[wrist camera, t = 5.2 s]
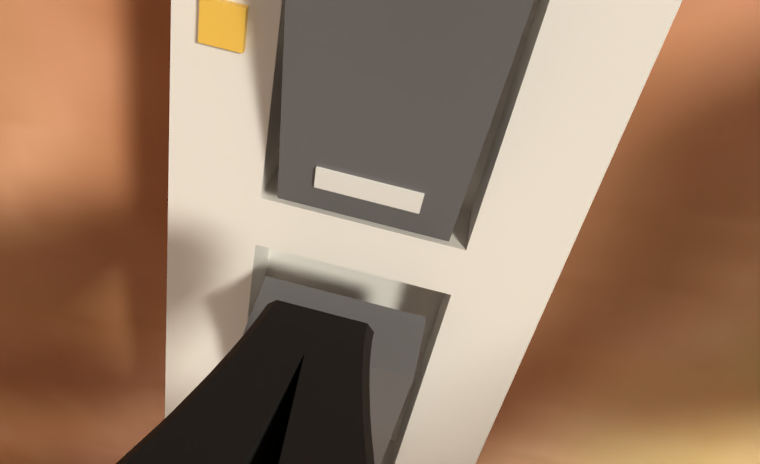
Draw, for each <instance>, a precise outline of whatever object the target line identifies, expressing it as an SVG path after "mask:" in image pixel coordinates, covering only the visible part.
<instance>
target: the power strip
mask: <svg viewBox="0 0 760 464" xmlns="http://www.w3.org/2000/svg"><path fill="white" fill-rule="evenodd" d="M681 2H682V0H534V3H533V6H532V9H531V11H530V14H529V17H528V20H527V23H526V26H525V28H524V31H523V34H522V37H521V40H520V43H519V45H518V48H517V51H516V54H515V57H514V60H513V62H512V65H511V68H510V71H509V74H508V76H507V79H506V82H505V85H504V88H503V91H502V93H501V96H500V99H499V102H498V105H497V108H496V110H495V113H494V116H493V119H492V122H491V124H490V127H489V130H488V133H487V136H486V139H485V141H484V144H483V147H482V150H481V153H480V156H479V158H478V161H477V164H476V167H475V170H474V172H473V175H472V178H471V181H470V184H469V187H468V189H467V192H466V195H465V198H464V201H463V204H462V206H461V209H460V212H459V215H458V218H457V221H456V223H455V226H454V229H453V232H452V235H451V237H450V240H449V242H448V241H445V240H441V239H437V238H433V237H429V236H425V235H421V234H417V233H413V232H409V231H405V230H401V229H398V228H394V227H390V226H386V225H382V224H378V223H374V222H370V221H366V220H362V219H358V218H354V217H351V216H347V215H343V214H339V213H335V212H331V211H327V210H323V209H319V208H315V207H311V206H307V205H304V204H300V203H296V202H292V201H288V200H284V199H280V198H277V197H278V172H279V147H280V123H281V98H282V74H283V49H284V24H285V0H171V40H170V107H169V174H168V241H167V309H166V376H165V418H166V417H167V416H168V415H169V414H170V413H171V412H172V411H173V410H174V409H175V408H176V407H177V406H178V405H179V404H180V403H181V402H182V401H183V400H184V399H185V398H186V397H187V396H188V395H189V394H190V393H191V392H192V391H193V390H194V389H195V388H196V387H197V386H198V385H199V384H200V383H201V382H202V381H203V380H204V379H205V378H206V376H207V375H208V374H209V373H210V372H211V371H212V370H213V369H214V368H215V367H216V366H217V365H218V364H219V362H220V361H221V360H222V359H223V358H224V357H225V356H226V355H227V354H228V352H229V351H230V350H231V349H232V348H233V347H234V346H235V344H236V343H237V342H238V341H239V340H240V339H241V337H242V336H243V333H244V330H245V328H246V325H247V323H248V320H249V317H250V315H251V312H252V310H253V307H254V304H255V302H256V299H257V297H258V294H259V292H260V289H261V286H262V284H263V281H264V279H265V276H268V277H272V278H276V279H280V280H284V281H288V282H291V283H295V284H299V285H303V286H307V287H311V288H315V289H319V290H323V291H326V292H330V293H334V294H338V295H342V296H346V297H350V298H354V299H357V300H361V301H365V302H369V303H373V304H377V305H381V306H385V307H388V308H392V309H396V310H400V311H404V312H408V313H412V314H416V315H419V316H423V317H426V321H425V326H424V331H423V336H422V341H421V346H420V351H419V356H418V361H417V365H416V370H415V375H414V379H413V382H412V384H411V387H410V389H409V392H408V395H407V397H406V400H405V402H404V405H403V408H402V410H401V413H400V415H399V418H398V420H397V423H396V426H395V428H394V431H393V433H392V436H391V439H390V441H389V444H388V446H387V449H386V452H385V454H384V457H383V459H382V462H381V464H476V461H477V459H478V457H479V455H480V452H481V450H482V448H483V446H484V444H485V441H486V439H487V437H488V435H489V432H490V430H491V428H492V426H493V423H494V421H495V419H496V417H497V414H498V412H499V410H500V408H501V405H502V403H503V401H504V399H505V396H506V394H507V392H508V390H509V388H510V385H511V383H512V381H513V379H514V376H515V374H516V372H517V370H518V367H519V365H520V363H521V361H522V358H523V356H524V354H525V352H526V349H527V347H528V345H529V343H530V340H531V338H532V336H533V334H534V332H535V329H536V327H537V325H538V323H539V320H540V318H541V316H542V314H543V311H544V309H545V307H546V305H547V302H548V300H549V298H550V296H551V293H552V291H553V289H554V287H555V284H556V282H557V280H558V278H559V276H560V273H561V271H562V269H563V267H564V264H565V262H566V260H567V258H568V255H569V253H570V251H571V249H572V246H573V244H574V242H575V240H576V237H577V235H578V233H579V231H580V228H581V226H582V224H583V222H584V220H585V217H586V215H587V213H588V211H589V208H590V206H591V204H592V202H593V199H594V197H595V195H596V193H597V190H598V188H599V186H600V184H601V181H602V179H603V177H604V175H605V172H606V170H607V168H608V166H609V164H610V161H611V159H612V157H613V155H614V152H615V150H616V148H617V146H618V143H619V141H620V139H621V137H622V134H623V132H624V130H625V128H626V125H627V123H628V121H629V119H630V116H631V114H632V112H633V110H634V108H635V105H636V103H637V101H638V99H639V96H640V94H641V92H642V90H643V87H644V85H645V83H646V81H647V78H648V76H649V74H650V72H651V69H652V67H653V65H654V63H655V60H656V58H657V56H658V54H659V52H660V49H661V47H662V45H663V43H664V40H665V38H666V36H667V34H668V31H669V29H670V27H671V25H672V22H673V20H674V18H675V16H676V13H677V11H678V9H679V7H680V5H681Z"/></svg>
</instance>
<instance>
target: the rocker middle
mask: <svg viewBox="0 0 760 464" xmlns="http://www.w3.org/2000/svg"><path fill="white" fill-rule="evenodd" d="M533 3H534V0H285V24H284V49H283V74H282V98H281V123H280V147H279V172H278V197H277V198H280V199H284V200H288V201H292V202H296V203H300V204H304V205H307V206H311V207H315V208H319V209H323V210H327V211H331V212H335V213H339V214H343V215H347V216H351V217H354V218H358V219H362V220H366V221H370V222H374V223H378V224H382V225H386V226H390V227H394V228H398V229H401V230H405V231H409V232H413V233H417V234H421V235H425V236H429V237H433V238H437V239H441V240H445V241H448V242H449V240H450V237H451V235H452V232H453V229H454V226H455V223H456V221H457V218H458V215H459V212H460V209H461V206H462V204H463V201H464V198H465V195H466V192H467V189H468V187H469V184H470V181H471V178H472V175H473V172H474V170H475V167H476V164H477V161H478V158H479V156H480V153H481V150H482V147H483V144H484V141H485V139H486V136H487V133H488V130H489V127H490V124H491V122H492V119H493V116H494V113H495V110H496V108H497V105H498V102H499V99H500V96H501V93H502V91H503V88H504V85H505V82H506V79H507V76H508V74H509V71H510V68H511V65H512V62H513V60H514V57H515V54H516V51H517V48H518V45H519V43H520V40H521V37H522V34H523V31H524V28H525V26H526V23H527V20H528V17H529V14H530V11H531V9H532V6H533Z"/></svg>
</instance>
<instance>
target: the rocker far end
mask: <svg viewBox="0 0 760 464" xmlns="http://www.w3.org/2000/svg"><path fill="white" fill-rule="evenodd" d="M275 300H280V301H284V302H287V303H291V304H295V305H299V306H303V307H307V308H310V309H314V310H318V311H322V312H326V313H330V314H334V315H337V316H341V317H345V318H349V319H353V320H357V321H360V322H364V323H368V325H369V326H370V327H371V329H372V330H373V331H374V335H373V340H372V347H371V357H370V385H369V388H370V418H371V433H372V443H373V453H374V463H375V464H381V462H382V459H383V457H384V454H385V452H386V449H387V446H388V444H389V441H390V439H391V436H392V433H393V431H394V428H395V426H396V423H397V420H398V418H399V415H400V413H401V410H402V408H403V405H404V402H405V400H406V397H407V395H408V392H409V389H410V387H411V384H412V382H413V379H414V375H415V370H416V365H417V361H418V356H419V351H420V346H421V341H422V336H423V331H424V326H425V321H426V317H423V316H419V315H416V314H412V313H408V312H404V311H400V310H396V309H392V308H388V307H385V306H381V305H377V304H373V303H369V302H365V301H361V300H357V299H354V298H350V297H346V296H342V295H338V294H334V293H330V292H326V291H323V290H319V289H315V288H311V287H307V286H303V285H299V284H295V283H291V282H288V281H284V280H280V279H276V278H272V277H268V276H265V279H264V281H263V284H262V286H261V289H260V292H259V294H258V297H257V299H256V302H255V304H254V307H253V310H252V312H251V315H250V317H249V320H248V323H247V325H246V328H245V330H244V333H243V335H244V334H245V333H246V331H247V330H248V329H249V328H250V326H251V325H252V324H253V323H254V321H255V320H256V319H257V318H258V316H259V315H260V314H261V312H262V311H263V309H264V308H265V307H266V305H267V304H268V303H271V302H273V301H275Z"/></svg>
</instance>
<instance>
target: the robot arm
mask: <svg viewBox="0 0 760 464" xmlns="http://www.w3.org/2000/svg"><path fill="white" fill-rule="evenodd" d="M373 335H374V331H373V330H372V329H371V327H370V326H369V325H368V323H364V322H360V321H357V320H353V319H349V318H345V317H341V316H337V315H334V314H330V313H326V312H322V311H318V310H314V309H310V308H307V307H303V306H299V305H295V304H291V303H287V302H284V301H280V300H275V301H273V302H271V303H268V304H267V305H266V307H265V308H264V309H263V311H262V312H261V314H260V315H259V316H258V318H257V319H256V320H255V321H254V323H253V324H252V325H251V326H250V328H249V329H248V330H247V331H246V333H245V334H244V335H243V336H242V337H241V339H240V340H239V341H238V342H237V343H236V344H235V346H234V347H233V348H232V349H231V350H230V351H229V352H228V354H227V355H226V356H225V357H224V358H223V359H222V360H221V361H220V362H219V364H218V365H217V366H216V367H215V368H214V369H213V370H212V371H211V372H210V373H209V374H208V375H207V376H206V378H205V379H204V380H203V381H202V382H201V383H200V384H199V385H198V386H197V387H196V388H195V389H194V390H193V391H192V392H191V393H190V394H189V395H188V396H187V397H186V398H185V399H184V400H183V401H182V402H181V403H180V404H179V405H178V406H177V407H176V408H175V409H174V410H173V411H172V412H171V413H170V414H169V415H168V416H167V417H166V418H165V419H164V420H163V421H162V422H161V423H160V424H159V425H158V426H157V427H156V428H154V429H153V430H152V431H151V432H150V433H149V434H148V435H147V436H146V437H145V438H144V439H142V440H141V441H140V442H139V443H138V444H137V445H136V446H135V447H134V448H133V449H131V450H130V451H129V452H128V453H127V454H126V455H125V456H124V457H123V458H122V459H121V460H119V461H118V462H117V463H116V464H375V463H374V453H373V443H372V433H371V418H370V388H369V385H370V357H371V347H372V340H373Z"/></svg>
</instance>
